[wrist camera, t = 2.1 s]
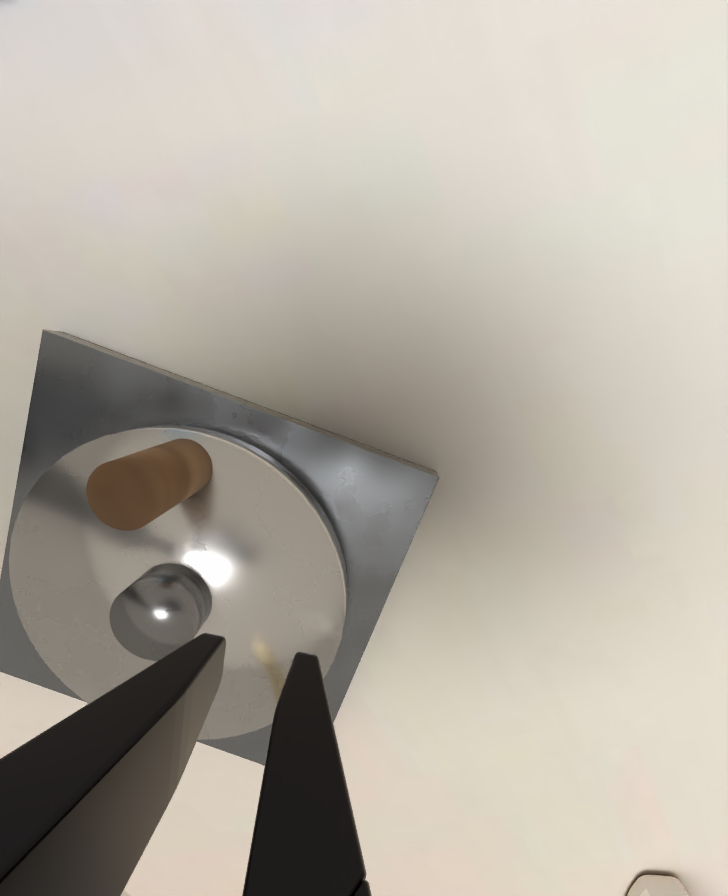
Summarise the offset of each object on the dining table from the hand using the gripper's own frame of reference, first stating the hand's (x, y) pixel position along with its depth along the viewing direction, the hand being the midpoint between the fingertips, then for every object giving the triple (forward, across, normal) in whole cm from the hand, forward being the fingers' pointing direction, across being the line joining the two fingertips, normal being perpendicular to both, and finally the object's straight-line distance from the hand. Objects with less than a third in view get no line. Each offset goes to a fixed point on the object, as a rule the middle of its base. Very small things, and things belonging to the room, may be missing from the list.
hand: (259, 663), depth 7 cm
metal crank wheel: (+11, +7, +7) cm, 14 cm away
